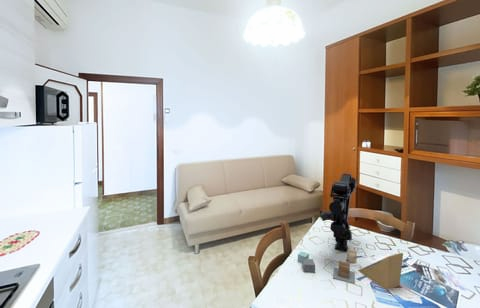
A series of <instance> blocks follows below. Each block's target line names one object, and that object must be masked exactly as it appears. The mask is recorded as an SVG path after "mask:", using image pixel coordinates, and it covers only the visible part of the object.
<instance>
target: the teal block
mask: <svg viewBox="0 0 480 308" xmlns="http://www.w3.org/2000/svg"><path fill="white" fill-rule="evenodd" d="M302 259H310V253H308V252H305V251H303V250H302V251H300V252H299V253H297V263H300V264H302Z"/></svg>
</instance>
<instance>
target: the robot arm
mask: <svg viewBox="0 0 480 308" xmlns="http://www.w3.org/2000/svg"><path fill="white" fill-rule="evenodd" d="M356 189H357V179H356V178H355V177H353V174H351V173H350V174H349V173H342V174H341V177H339V180H338V181H337V180H336V181H334V182H333V184H332V185H331V189H330V194H329V198H332V201H331V202H330V204H329V206H328V209H329V210H326V211H322V212H321V213H320V219H321V221H322V222H326V221H328V220H329V221H330V220H331V223H330V227H329V228H330V231H331V232H333V238H334V241H335V246H334V250H336V251H341V252H343V251H344V252H347V250H349V245H348V242H349V241H350V242H351V241H352V238H353V233H352V230H351V226H350V224H349V222H348V221H349V212H350V206H351V205H350V204H351V197H352V195H354V193H355V190H356Z"/></svg>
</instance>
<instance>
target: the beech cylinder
mask: <svg viewBox="0 0 480 308" xmlns="http://www.w3.org/2000/svg"><path fill="white" fill-rule="evenodd" d="M346 262H348V263H350V264H356V263H357V251H356V250H354V249H349V248H348V250H347V251H346Z"/></svg>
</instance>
